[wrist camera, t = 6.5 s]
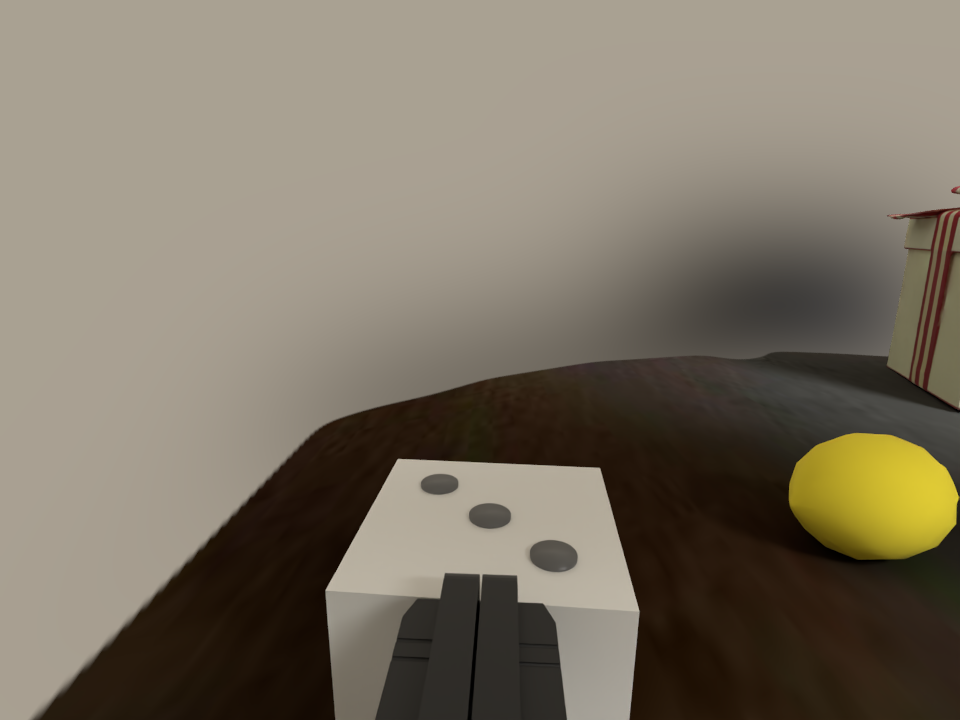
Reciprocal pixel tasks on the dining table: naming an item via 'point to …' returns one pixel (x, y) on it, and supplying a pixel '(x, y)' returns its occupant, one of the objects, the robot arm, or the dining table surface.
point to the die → (488, 550)
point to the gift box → (930, 305)
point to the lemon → (873, 497)
